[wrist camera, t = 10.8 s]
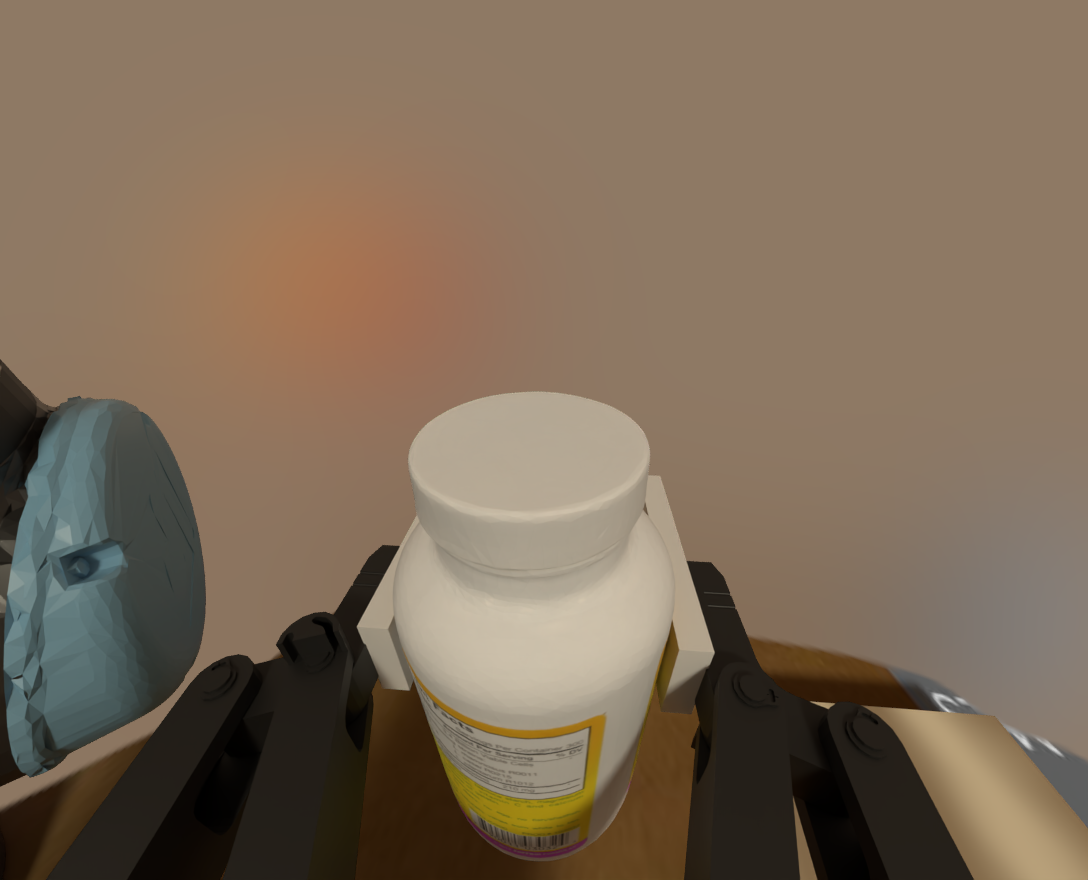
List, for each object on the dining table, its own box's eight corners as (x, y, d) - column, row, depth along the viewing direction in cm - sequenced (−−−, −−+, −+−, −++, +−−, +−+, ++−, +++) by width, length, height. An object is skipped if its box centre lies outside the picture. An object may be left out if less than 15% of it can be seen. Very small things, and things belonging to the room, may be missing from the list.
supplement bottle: (559, 621, 18) (565, 358, 12) (672, 764, 13) (791, 456, 7) (420, 712, 15) (320, 417, 8) (506, 943, 10) (426, 682, 4)
